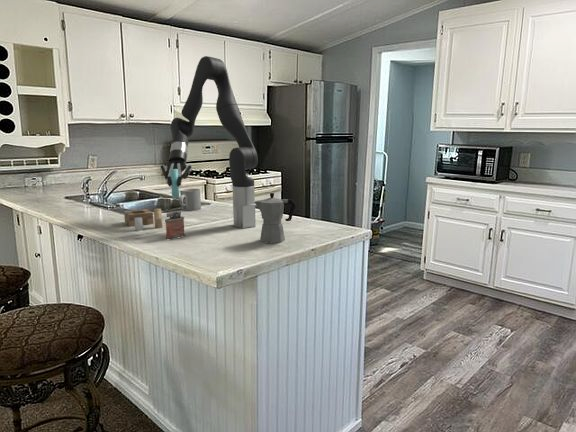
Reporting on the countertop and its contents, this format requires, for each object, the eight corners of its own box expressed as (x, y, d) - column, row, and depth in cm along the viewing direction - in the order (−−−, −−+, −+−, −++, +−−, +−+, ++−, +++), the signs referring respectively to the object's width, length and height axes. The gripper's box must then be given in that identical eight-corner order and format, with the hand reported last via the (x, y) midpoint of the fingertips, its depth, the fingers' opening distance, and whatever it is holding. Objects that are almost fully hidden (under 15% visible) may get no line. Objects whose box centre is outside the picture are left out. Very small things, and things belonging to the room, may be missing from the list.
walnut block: (153, 223, 189) (152, 212, 188) (129, 226, 184) (128, 215, 183) (147, 219, 197) (146, 209, 196) (124, 222, 192) (123, 211, 191)
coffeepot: (253, 243, 157) (252, 195, 153) (255, 237, 166) (255, 190, 162) (296, 243, 156) (296, 194, 153) (295, 237, 166) (295, 190, 162)
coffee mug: (191, 206, 229) (190, 187, 227) (205, 208, 223) (204, 189, 221) (171, 210, 218) (170, 191, 216) (185, 212, 212) (184, 192, 210)
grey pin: (143, 230, 178) (143, 218, 177) (136, 231, 176) (135, 219, 175) (142, 228, 180) (141, 217, 179) (134, 229, 179) (133, 217, 178)
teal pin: (180, 197, 185) (178, 169, 182) (173, 198, 183) (171, 170, 180) (178, 196, 187) (176, 168, 184) (171, 197, 185) (169, 169, 183)
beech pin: (163, 227, 182) (162, 209, 180) (156, 228, 180) (154, 209, 179) (161, 226, 184) (159, 207, 183) (154, 227, 183) (152, 208, 181)
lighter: (181, 234, 170) (180, 209, 168) (187, 235, 168) (185, 210, 166) (164, 238, 164) (162, 213, 162) (169, 240, 162) (168, 214, 160)
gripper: (160, 148, 188) (154, 180, 178) (192, 148, 188) (189, 180, 179) (164, 159, 194) (159, 190, 185) (195, 159, 195) (192, 190, 185)
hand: (173, 185), depth 182 cm, fingers closed on teal pin, 3 cm apart
